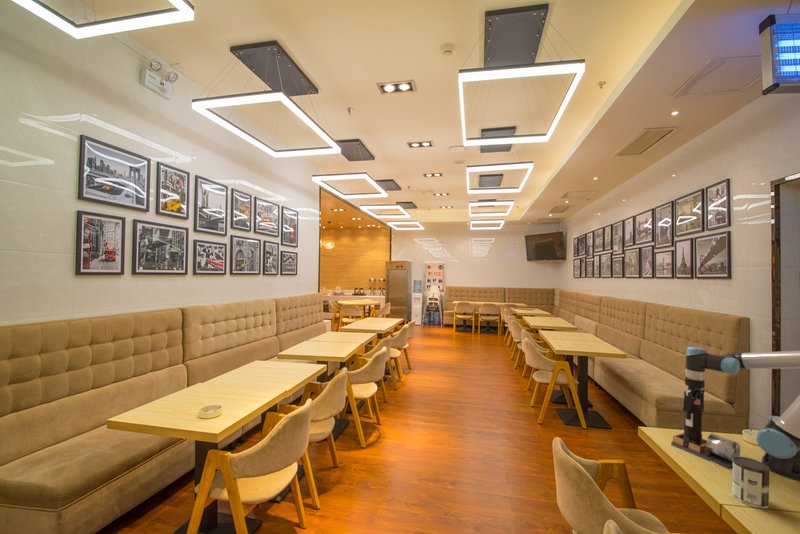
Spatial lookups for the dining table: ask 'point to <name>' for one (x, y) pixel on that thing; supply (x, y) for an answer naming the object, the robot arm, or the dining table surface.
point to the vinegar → (694, 423)
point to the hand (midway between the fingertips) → (693, 424)
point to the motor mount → (710, 448)
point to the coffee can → (750, 482)
